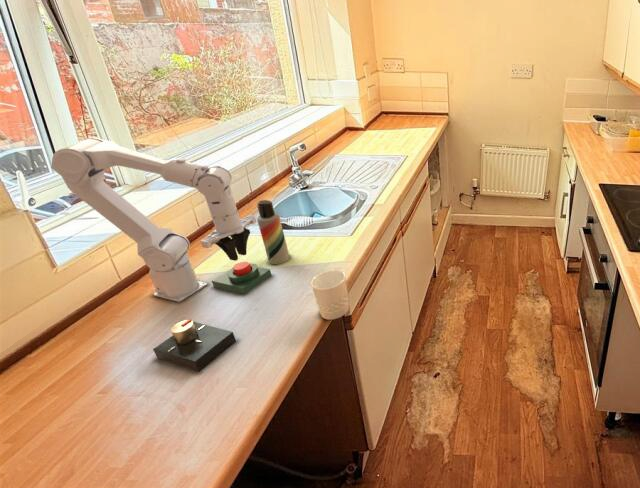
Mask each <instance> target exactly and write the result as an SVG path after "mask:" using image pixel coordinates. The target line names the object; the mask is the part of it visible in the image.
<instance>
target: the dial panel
mask: <svg viewBox="0 0 640 488" xmlns="http://www.w3.org/2000/svg"><path fill="white" fill-rule="evenodd" d="M193 323H194V325H195V328H196V330H197V333H198V336H197V337H196V339H194V340H193V341H191V342H189V343H187V344H183V345H178V344H176V342H175V339H174V337H173V335H171V336H170V337H168V338H166V339H165V340H164V341H162V342H161V343H160V344H158V345H157V346H155V347H154V348H152V350H153V353H154V354H155V355H154V356H155V357H156V360H159V361H162V362H165V363H169V364H172V365H175V366H179V367H182V368H185V369H188V370H192V371H195V372H198V373H199V372H202V370H204V369H205V368H206V367H207V366H208V365H210V364H211V363H212V362H214V361H215V360H216V359H217V358H219V357H220V356H221V355H222V354H223V353H224V352H226V351H227V350H228V349H229V348H230V347H232V346H233V345H235V343H237V340H236V336H235V334H234V331H231V330H227V329H223V328H219V327H217V326H212V325H208V324H205V323H201V322H197V321H193Z"/></svg>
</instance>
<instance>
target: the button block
mask: <svg viewBox="0 0 640 488" xmlns="http://www.w3.org/2000/svg"><path fill="white" fill-rule="evenodd" d="M249 263H250V262H249ZM250 267H251V271H250V272H248V273H246V274H243V275H235V274H234V271H233V267H231V268H230V269H228V270H227V271H225V272H223V273H222V274H220V275H218V276H217V277H216V278H214V279H212V280H211V284H212V286H213V288H216V289H220V290H224V291H229V292H232V293H236V294H240V295H247V294H248V293H250V292H251V291H252V290H254V289H256V288H257V287H258V286H260V285H261V284H263V282H265V281H266V280H268V279H269V278H271V277H272V271H271V269H268V268H264V267H259V266H258V265H257V264H255V263H250Z"/></svg>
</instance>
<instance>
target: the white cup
mask: <svg viewBox="0 0 640 488" xmlns="http://www.w3.org/2000/svg"><path fill="white" fill-rule="evenodd" d="M347 283H348V282H347V277H346V273H345V272H343V271H342V270H338V269H332V270H331V269H329V270H326V271H323V272H320V273H318V274H317V275H315V276H314V277H313V278H312V280H311V281H310V285H311V288H312V292H313V296H314V298H315V302H316V305H317V308H318V310H319V313H320V316H321V318H322V319H325V320H328V321H329V320H331V321H333V320H336V319H340V318H342V317H344V316H345V315H347V313H348V312H349V308H350V303H349V292H348V285H347Z"/></svg>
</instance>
